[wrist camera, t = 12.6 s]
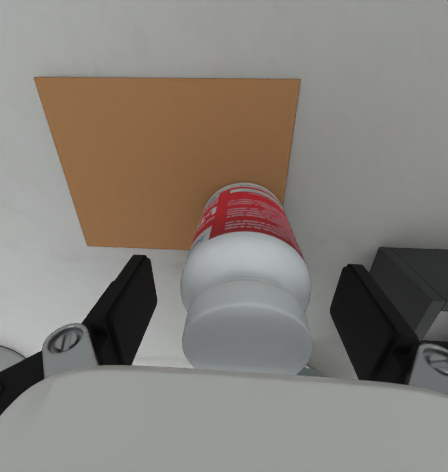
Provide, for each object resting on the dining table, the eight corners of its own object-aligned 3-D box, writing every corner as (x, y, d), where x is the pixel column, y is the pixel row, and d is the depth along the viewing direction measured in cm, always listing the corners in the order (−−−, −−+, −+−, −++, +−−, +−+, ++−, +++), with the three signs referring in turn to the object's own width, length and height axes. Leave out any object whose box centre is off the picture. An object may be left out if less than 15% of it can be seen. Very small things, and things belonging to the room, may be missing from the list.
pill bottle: (208, 172, 16) (164, 269, 7) (294, 188, 17) (370, 303, 7) (198, 247, 19) (158, 386, 10) (271, 259, 20) (301, 408, 10)
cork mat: (299, 79, 14) (300, 79, 13) (275, 251, 20) (276, 253, 19) (37, 77, 15) (33, 77, 14) (89, 243, 20) (87, 246, 20)
